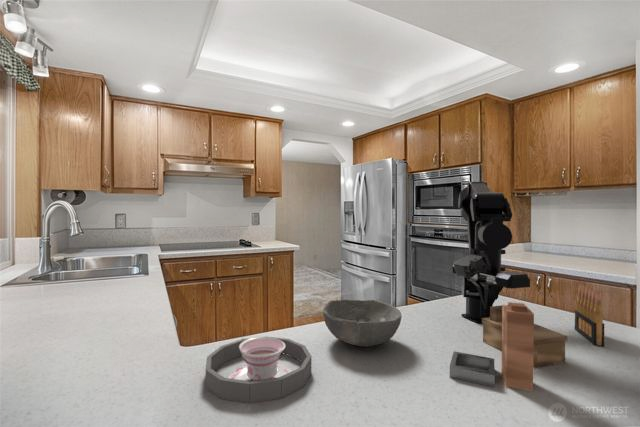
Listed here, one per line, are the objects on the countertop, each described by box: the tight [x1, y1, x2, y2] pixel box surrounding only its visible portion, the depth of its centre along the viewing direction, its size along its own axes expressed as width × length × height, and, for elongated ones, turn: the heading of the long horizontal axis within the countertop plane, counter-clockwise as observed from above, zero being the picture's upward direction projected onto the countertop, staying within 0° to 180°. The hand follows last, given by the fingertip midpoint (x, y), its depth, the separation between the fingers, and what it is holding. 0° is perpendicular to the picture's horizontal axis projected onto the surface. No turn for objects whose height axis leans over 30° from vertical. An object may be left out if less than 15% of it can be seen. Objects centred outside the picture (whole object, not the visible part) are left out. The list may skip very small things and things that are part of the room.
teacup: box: [227, 336, 294, 381], centre depth 59 cm, size 12×12×6 cm
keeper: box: [449, 350, 496, 388], centre depth 61 cm, size 7×7×2 cm
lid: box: [482, 304, 568, 345], centre depth 71 cm, size 13×8×4 cm, turn 17°
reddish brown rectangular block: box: [501, 301, 535, 391], centre depth 58 cm, size 4×4×14 cm
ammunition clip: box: [574, 283, 605, 347], centre depth 79 cm, size 11×2×12 cm, turn 162°
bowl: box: [322, 299, 402, 347], centre depth 76 cm, size 18×18×8 cm
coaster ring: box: [205, 336, 312, 404], centre depth 61 cm, size 19×19×3 cm
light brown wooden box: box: [482, 323, 566, 369], centre depth 71 cm, size 13×8×4 cm, turn 17°
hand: (487, 309), depth 80 cm, fingers closed
